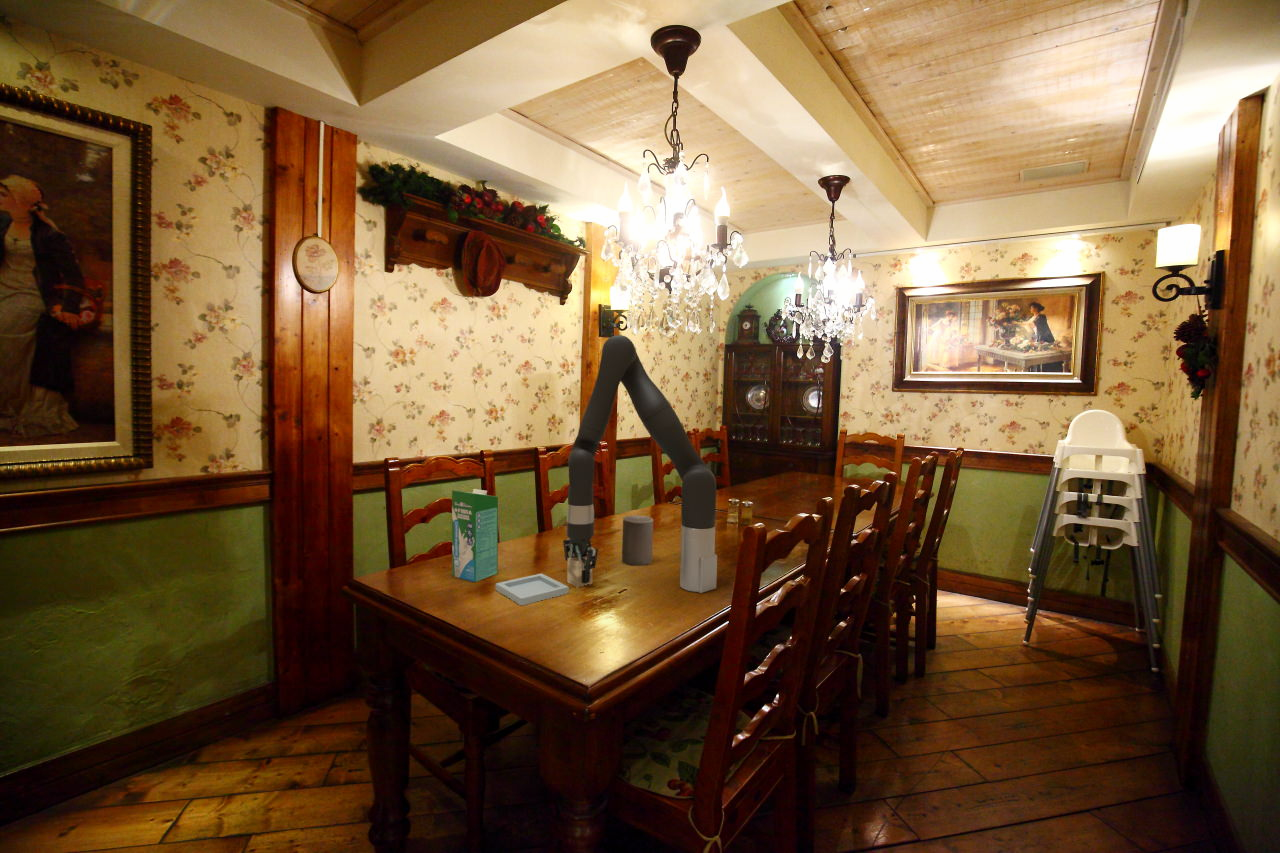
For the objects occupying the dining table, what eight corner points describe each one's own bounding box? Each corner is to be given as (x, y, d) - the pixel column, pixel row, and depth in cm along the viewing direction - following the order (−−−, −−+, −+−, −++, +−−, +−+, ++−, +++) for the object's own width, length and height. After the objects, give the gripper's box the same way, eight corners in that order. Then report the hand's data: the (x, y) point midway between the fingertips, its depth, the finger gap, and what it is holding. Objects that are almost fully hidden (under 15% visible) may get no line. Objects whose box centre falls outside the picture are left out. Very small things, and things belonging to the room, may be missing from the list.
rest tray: (568, 593, 152) (568, 586, 152) (521, 605, 143) (521, 598, 143) (541, 579, 162) (541, 573, 162) (495, 590, 153) (495, 583, 153)
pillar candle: (617, 563, 178) (618, 516, 177) (627, 555, 188) (628, 510, 186) (647, 567, 175) (649, 519, 174) (655, 558, 185) (657, 512, 184)
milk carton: (498, 573, 167) (498, 488, 165) (474, 582, 159) (474, 493, 158) (475, 568, 172) (475, 485, 170) (452, 576, 164) (451, 489, 162)
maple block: (592, 583, 160) (592, 559, 159) (577, 587, 157) (577, 562, 156) (582, 579, 164) (582, 554, 163) (567, 582, 160) (567, 558, 160)
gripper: (606, 523, 156) (605, 584, 157) (577, 513, 167) (576, 571, 168) (584, 526, 151) (583, 590, 152) (555, 517, 162) (554, 576, 163)
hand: (579, 579), depth 160 cm, fingers closed on maple block, 5 cm apart
